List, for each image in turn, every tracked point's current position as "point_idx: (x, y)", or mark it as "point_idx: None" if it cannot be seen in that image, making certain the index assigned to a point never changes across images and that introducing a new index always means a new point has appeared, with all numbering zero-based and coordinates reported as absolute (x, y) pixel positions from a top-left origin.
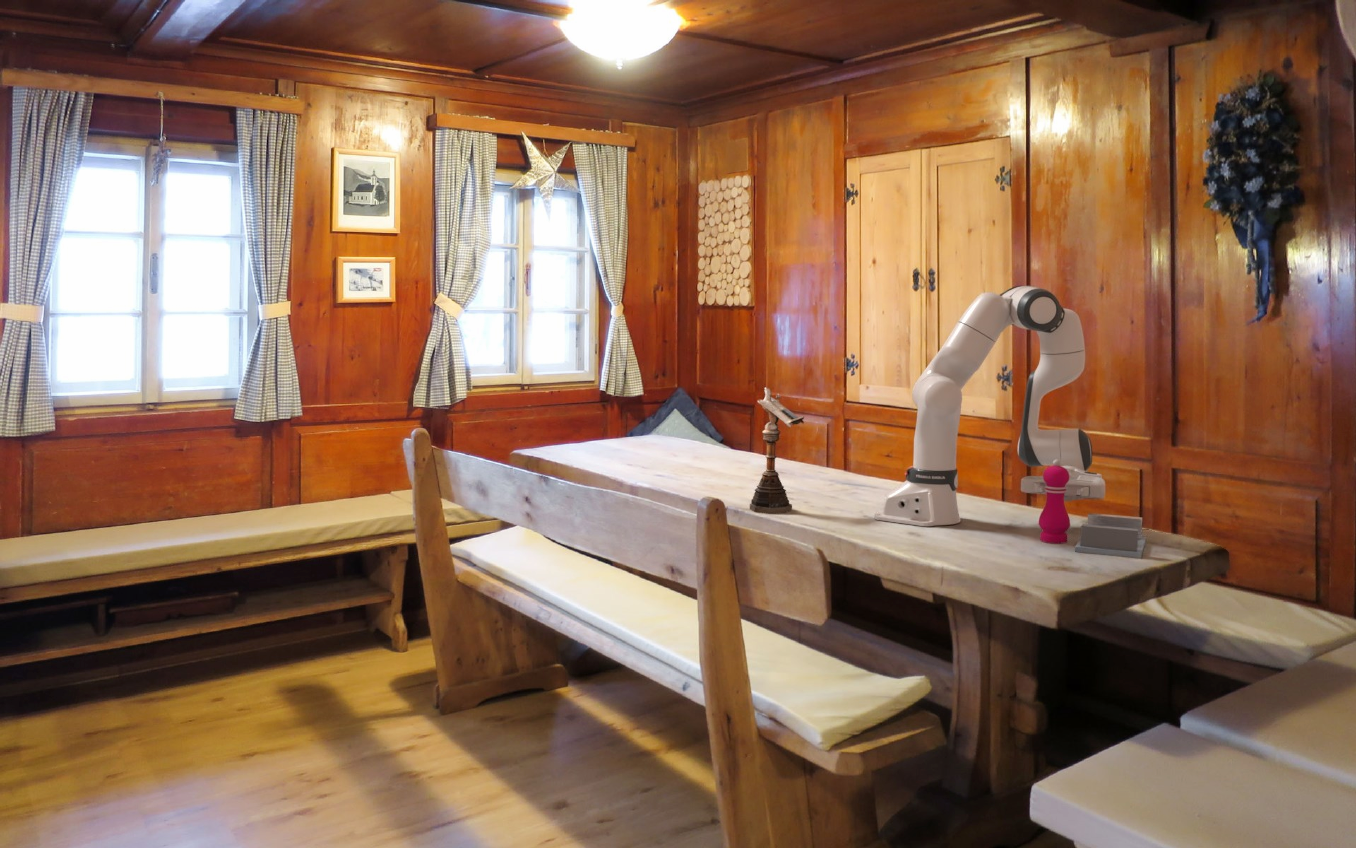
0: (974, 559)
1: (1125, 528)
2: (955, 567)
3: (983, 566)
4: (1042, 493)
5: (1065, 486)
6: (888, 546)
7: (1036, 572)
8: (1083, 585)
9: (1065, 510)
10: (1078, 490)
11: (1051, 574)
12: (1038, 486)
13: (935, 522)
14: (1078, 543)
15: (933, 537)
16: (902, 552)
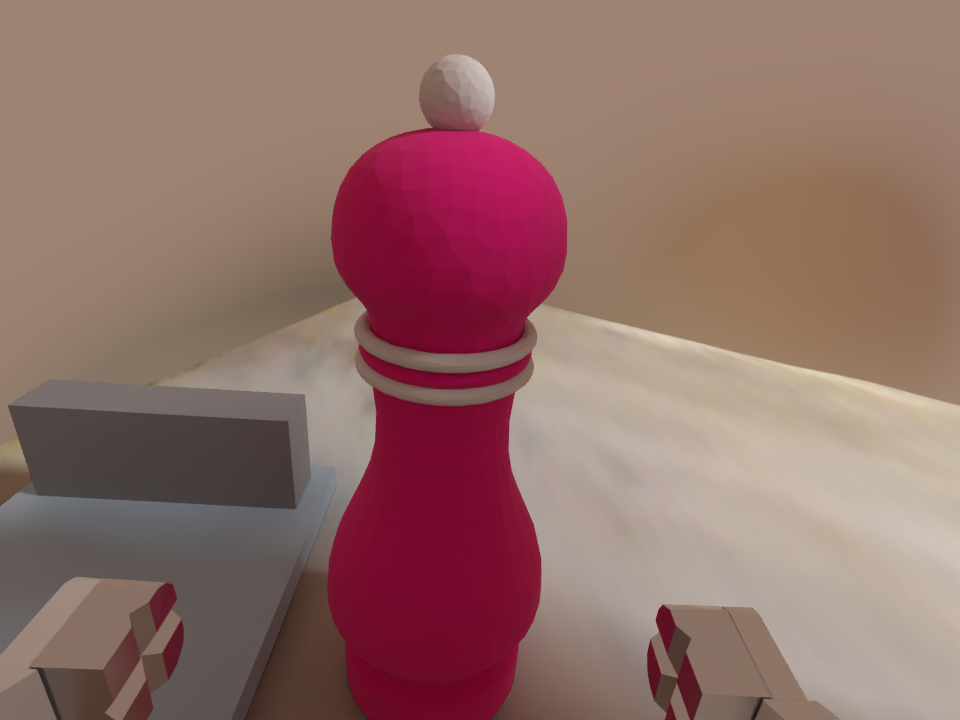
0: (614, 365)
1: (82, 399)
2: (615, 327)
3: (568, 338)
4: (650, 686)
5: (365, 322)
6: (883, 401)
7: None
8: (358, 301)
9: (364, 473)
10: (141, 583)
11: None
12: (732, 612)
13: None
14: (308, 515)
15: (936, 523)
16: (796, 373)
